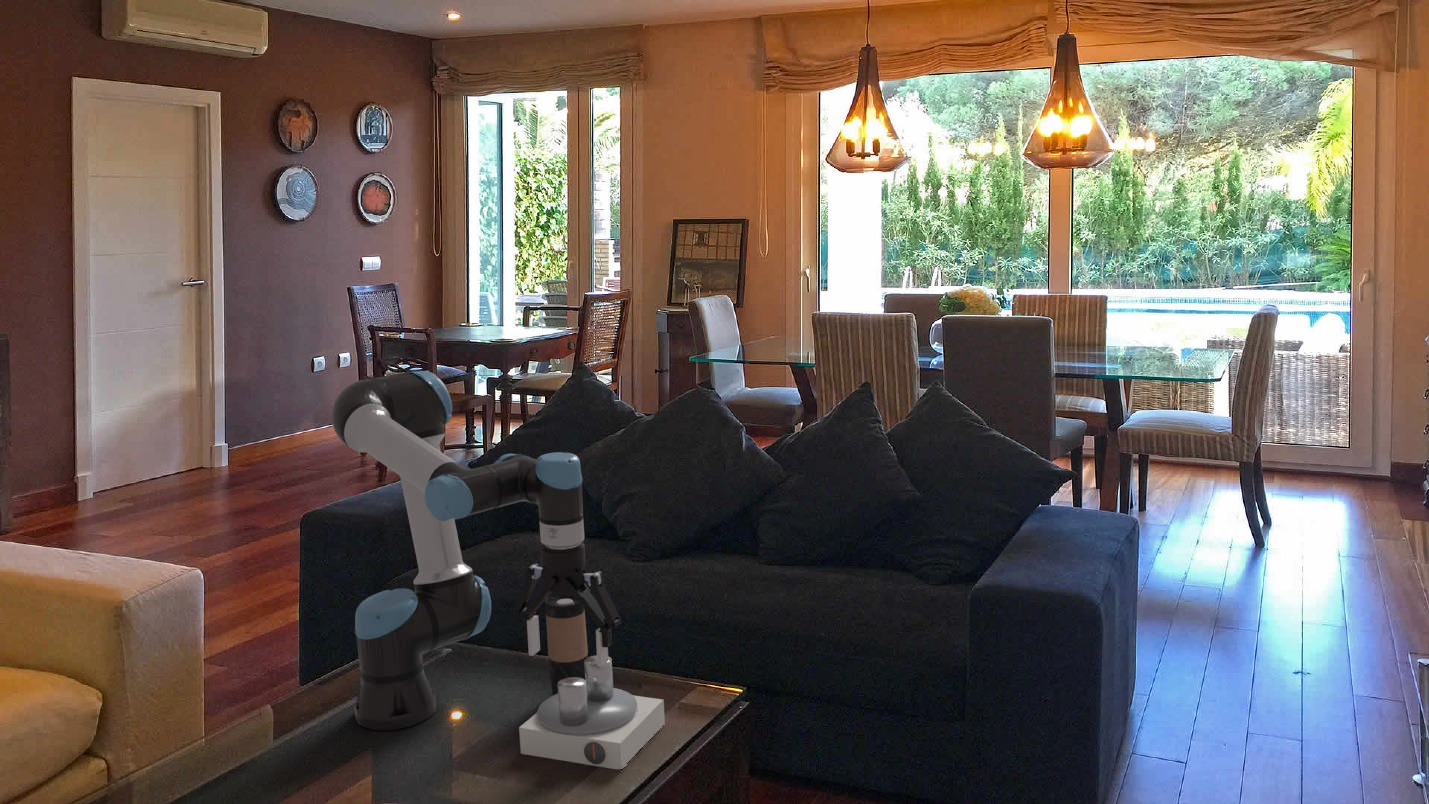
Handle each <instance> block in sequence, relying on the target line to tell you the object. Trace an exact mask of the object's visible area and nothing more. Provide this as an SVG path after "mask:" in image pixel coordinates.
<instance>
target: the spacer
mask: <svg viewBox="0 0 1429 804" xmlns="http://www.w3.org/2000/svg"><path fill="white" fill-rule="evenodd" d="M557 686H558V700H559V715H560V723H561V724H562V725H564V726H569V727H574V726H580V725H583V724H585V723H586V722H587V721H588V706H587V690H586V681H585V680H584V679H583V678H578V677H571V678H565V679H563V680H561V681H559V682H558V684H557Z"/></svg>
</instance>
